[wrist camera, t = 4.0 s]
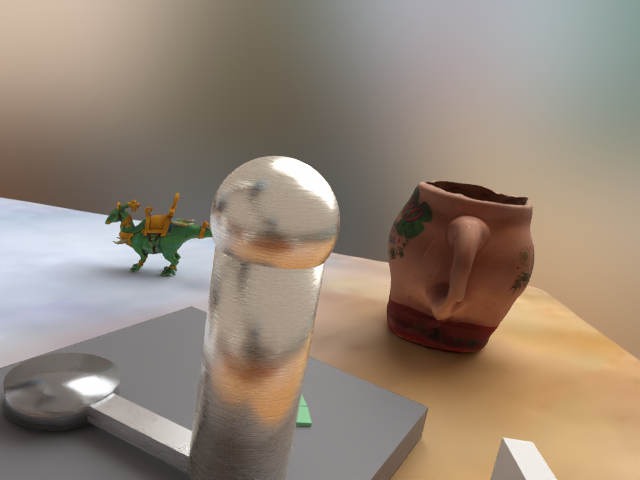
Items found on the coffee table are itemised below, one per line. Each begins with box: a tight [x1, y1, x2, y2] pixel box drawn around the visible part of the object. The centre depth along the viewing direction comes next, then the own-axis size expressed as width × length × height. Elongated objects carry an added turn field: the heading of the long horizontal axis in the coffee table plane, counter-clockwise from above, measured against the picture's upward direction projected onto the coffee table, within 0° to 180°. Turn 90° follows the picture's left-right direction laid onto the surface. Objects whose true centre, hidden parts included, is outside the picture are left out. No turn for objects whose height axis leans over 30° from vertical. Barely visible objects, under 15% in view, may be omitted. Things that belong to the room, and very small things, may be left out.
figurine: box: [105, 193, 213, 276], centre depth 51 cm, size 3×12×8 cm, turn 99°
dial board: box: [0, 307, 428, 480], centre depth 27 cm, size 19×19×2 cm
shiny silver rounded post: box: [3, 156, 340, 480], centre depth 22 cm, size 15×5×14 cm, turn 65°
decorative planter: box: [387, 181, 534, 352], centre depth 45 cm, size 20×12×14 cm, turn 171°
